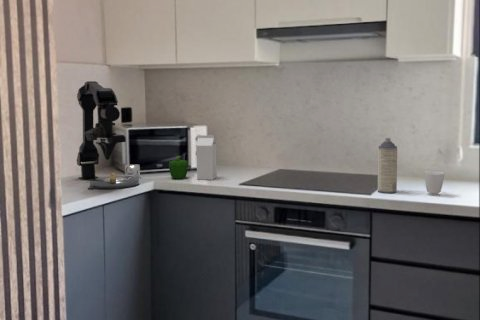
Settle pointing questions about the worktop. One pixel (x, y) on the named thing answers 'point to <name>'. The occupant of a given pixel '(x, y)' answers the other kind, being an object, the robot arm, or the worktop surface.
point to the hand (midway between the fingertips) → (107, 159)
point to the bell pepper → (178, 168)
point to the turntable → (114, 182)
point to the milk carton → (206, 157)
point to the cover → (132, 170)
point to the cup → (434, 182)
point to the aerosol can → (387, 167)
